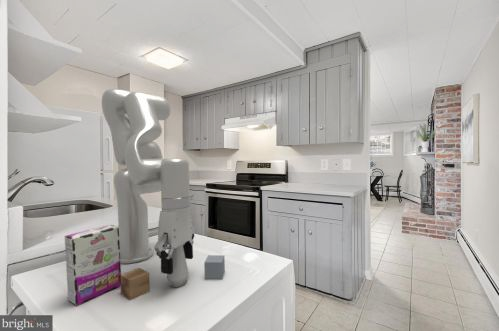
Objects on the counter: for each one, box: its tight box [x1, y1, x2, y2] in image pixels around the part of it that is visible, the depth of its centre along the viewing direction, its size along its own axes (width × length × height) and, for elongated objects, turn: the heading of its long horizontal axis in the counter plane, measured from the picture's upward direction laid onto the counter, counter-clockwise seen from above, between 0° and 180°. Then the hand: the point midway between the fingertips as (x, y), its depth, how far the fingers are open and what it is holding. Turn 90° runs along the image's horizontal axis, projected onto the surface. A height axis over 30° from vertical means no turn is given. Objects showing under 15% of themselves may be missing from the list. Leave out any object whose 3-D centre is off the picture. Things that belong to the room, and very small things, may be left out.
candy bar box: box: [64, 224, 122, 306], centre depth 62 cm, size 11×5×16 cm, turn 148°
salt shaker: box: [166, 243, 189, 288], centre depth 67 cm, size 6×6×13 cm
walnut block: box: [120, 267, 151, 301], centre depth 62 cm, size 5×5×5 cm
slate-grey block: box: [203, 254, 226, 281], centre depth 71 cm, size 5×5×5 cm
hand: (178, 265), depth 66 cm, fingers open, 9 cm apart
